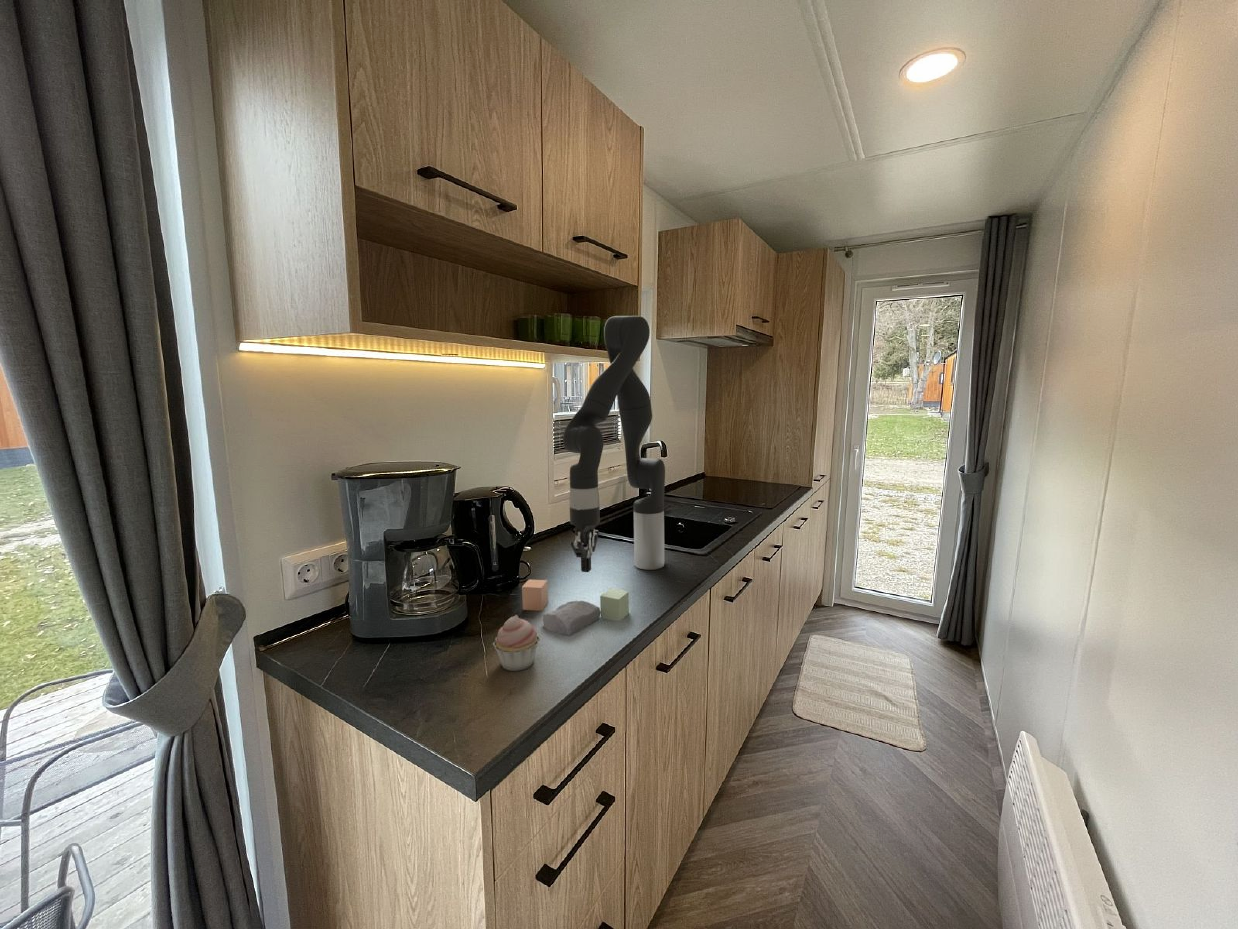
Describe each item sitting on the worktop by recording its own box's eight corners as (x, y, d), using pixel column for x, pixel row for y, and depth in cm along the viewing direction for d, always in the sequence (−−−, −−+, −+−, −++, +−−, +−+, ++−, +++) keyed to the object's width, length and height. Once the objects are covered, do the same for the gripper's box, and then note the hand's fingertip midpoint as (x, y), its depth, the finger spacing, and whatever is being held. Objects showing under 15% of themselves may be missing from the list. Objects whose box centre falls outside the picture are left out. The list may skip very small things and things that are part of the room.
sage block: (610, 609, 123) (610, 588, 123) (628, 613, 121) (628, 591, 120) (600, 617, 119) (600, 595, 118) (619, 621, 117) (618, 599, 116)
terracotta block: (530, 601, 129) (528, 579, 128) (548, 602, 128) (547, 580, 127) (523, 609, 124) (521, 586, 123) (542, 611, 123) (541, 587, 123)
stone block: (539, 635, 115) (570, 638, 109) (536, 614, 115) (567, 616, 109) (574, 617, 125) (604, 620, 118) (571, 598, 125) (601, 600, 119)
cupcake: (551, 662, 99) (549, 615, 98) (510, 682, 93) (507, 631, 92) (525, 646, 106) (522, 601, 105) (485, 663, 100) (482, 615, 98)
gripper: (581, 499, 133) (583, 562, 135) (559, 509, 120) (561, 578, 122) (607, 500, 130) (609, 564, 132) (588, 511, 118) (589, 581, 120)
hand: (586, 571), depth 127 cm, fingers closed
